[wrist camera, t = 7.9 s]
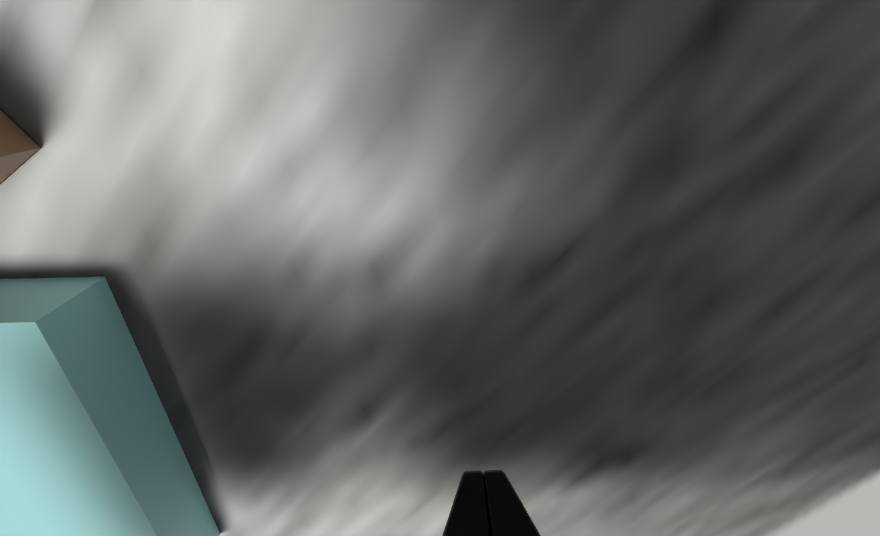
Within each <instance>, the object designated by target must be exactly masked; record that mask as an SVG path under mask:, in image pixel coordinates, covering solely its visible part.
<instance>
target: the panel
mask: <svg viewBox="0 0 880 536" xmlns="http://www.w3.org/2000/svg"><path fill="white" fill-rule="evenodd" d="M219 535H220V532H219V530H218V528H217V526H216V523H215V521H214V519H213V517H212V514H211V512H210V510H209V508H208V506H207V503H206V501H205V499H204V497H203V494H202V492H201V490H200V488H199V485H198V483H197V481H196V479H195V477H194V474H193V472H192V470H191V468H190V465H189V463H188V461H187V459H186V456H185V454H184V452H183V450H182V448H181V445H180V443H179V441H178V439H177V436H176V434H175V432H174V430H173V428H172V425H171V423H170V421H169V419H168V416H167V414H166V412H165V410H164V407H163V405H162V403H161V401H160V399H159V396H158V394H157V392H156V390H155V387H154V385H153V383H152V381H151V378H150V376H149V374H148V372H147V370H146V367H145V365H144V363H143V361H142V358H141V356H140V354H139V352H138V350H137V347H136V345H135V343H134V341H133V338H132V336H131V334H130V332H129V329H128V327H127V325H126V323H125V321H124V318H123V316H122V314H121V312H120V309H119V307H118V305H117V303H116V300H115V298H114V296H113V294H112V292H111V289H110V287H109V285H108V283H107V280H106V278H105V276H103V277H61V278H18V279H0V536H219Z"/></svg>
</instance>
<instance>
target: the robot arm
mask: <svg viewBox="0 0 880 536" xmlns="http://www.w3.org/2000/svg"><path fill="white" fill-rule="evenodd" d="M443 536H540V534H539V532H538V530H537V529H536V527H535V525H534V523H533V522H532V520H531V518H530V516H529V515H528V513H527V511H526V509H525V508H524V506H523V504H522V502H521V501H520V499H519V497H518V495H517V494H516V492H515V490H514V488H513V487H512V485H511V483H510V481H509V480H508V478H507V476H506V474H505V473H504V472H503V471H501V470H488V471H485V472H484V473H482V472H481V471H465V472H464V473H463V474H462V477H461V480H460V483H459V486H458V489H457V492H456V495H455V499H454V502H453V505H452V508H451V511H450V514H449V517H448V520H447V523H446V526H445V530H444V533H443Z"/></svg>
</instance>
